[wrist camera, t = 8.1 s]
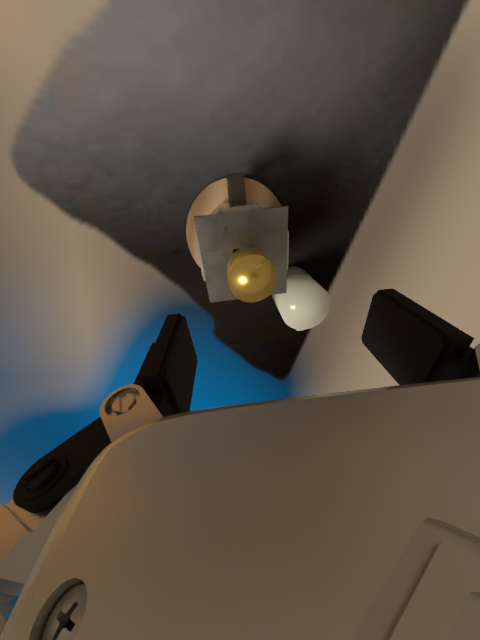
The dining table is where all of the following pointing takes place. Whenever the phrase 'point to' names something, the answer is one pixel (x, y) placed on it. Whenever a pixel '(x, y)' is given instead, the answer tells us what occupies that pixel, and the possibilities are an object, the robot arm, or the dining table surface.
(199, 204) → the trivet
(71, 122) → the dining table surface
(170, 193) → the dining table surface
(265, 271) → the plunger
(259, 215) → the grey handled container
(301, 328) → the mug
